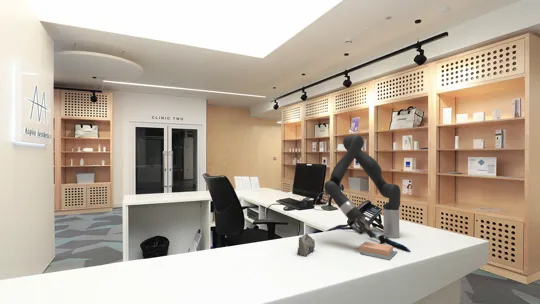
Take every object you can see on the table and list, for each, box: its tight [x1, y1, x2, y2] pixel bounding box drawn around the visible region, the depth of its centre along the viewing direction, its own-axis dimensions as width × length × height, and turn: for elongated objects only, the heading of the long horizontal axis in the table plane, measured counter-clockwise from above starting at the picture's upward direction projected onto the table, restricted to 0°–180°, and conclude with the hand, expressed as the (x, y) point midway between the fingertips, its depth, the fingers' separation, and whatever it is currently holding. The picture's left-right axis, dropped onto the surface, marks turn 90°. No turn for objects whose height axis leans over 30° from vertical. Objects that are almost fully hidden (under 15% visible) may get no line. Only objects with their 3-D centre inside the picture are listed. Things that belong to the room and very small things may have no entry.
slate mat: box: [360, 250, 398, 261], centre depth 140 cm, size 15×14×1 cm
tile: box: [358, 241, 394, 257], centre depth 141 cm, size 10×3×14 cm
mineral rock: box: [296, 233, 316, 257], centre depth 140 cm, size 13×11×10 cm
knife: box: [372, 232, 412, 253], centre depth 155 cm, size 31×3×4 cm, turn 21°
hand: (373, 236), depth 142 cm, fingers closed
